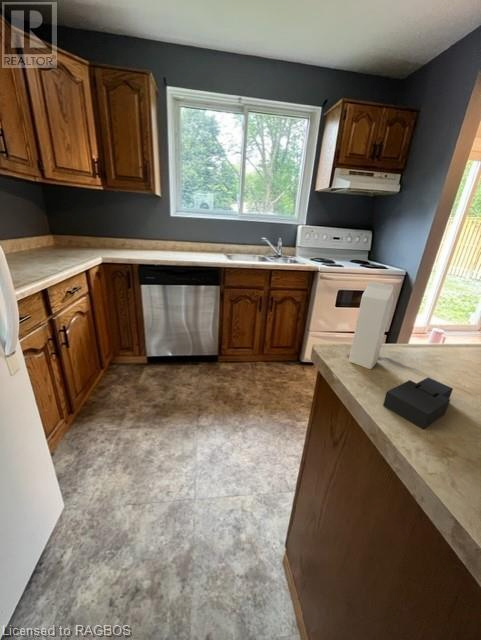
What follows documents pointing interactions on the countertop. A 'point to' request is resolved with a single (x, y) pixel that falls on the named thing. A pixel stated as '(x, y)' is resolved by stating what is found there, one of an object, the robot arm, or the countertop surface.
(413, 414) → the black notched block
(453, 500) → the countertop surface
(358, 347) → the milk
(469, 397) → the countertop surface
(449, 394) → the black rectangular block
